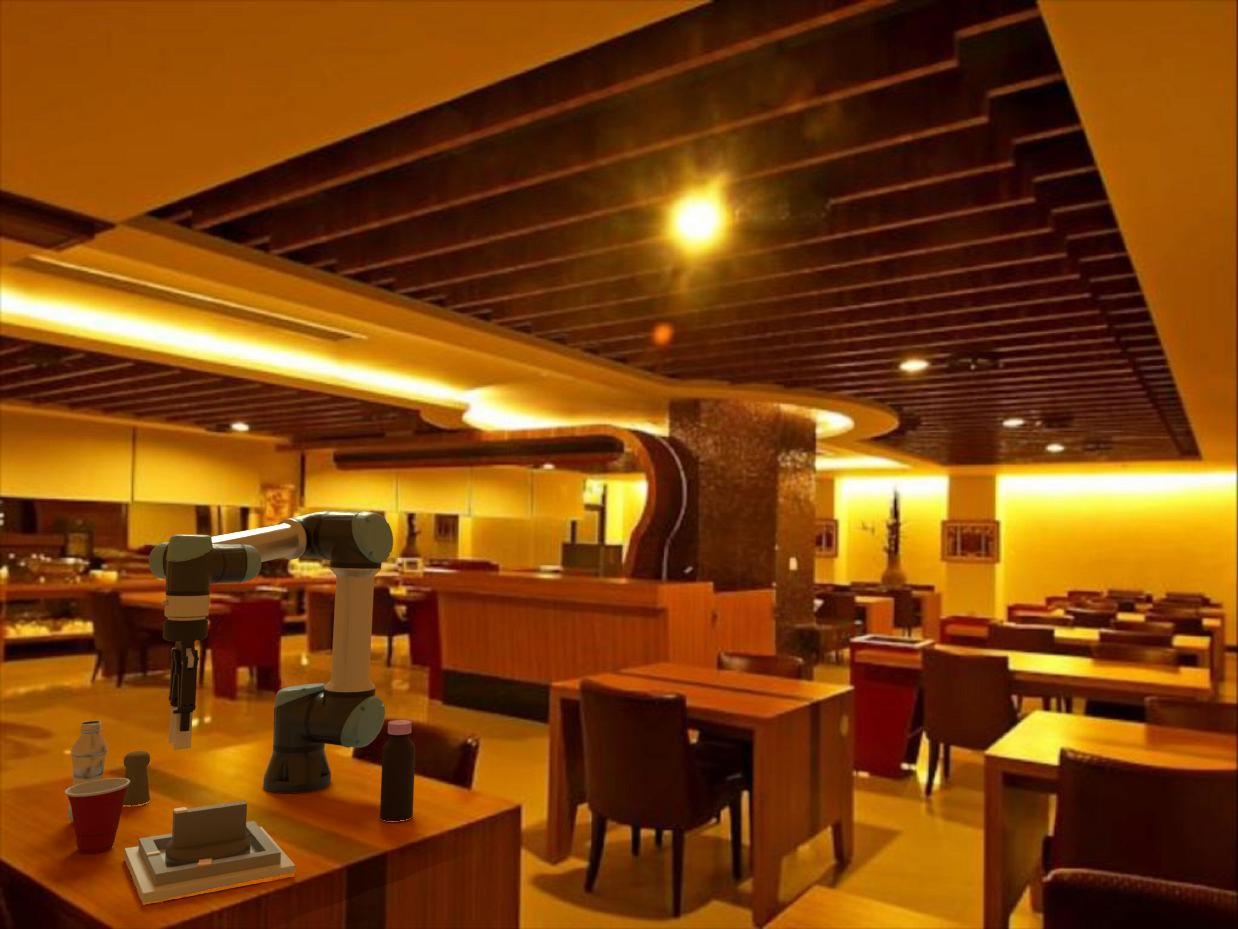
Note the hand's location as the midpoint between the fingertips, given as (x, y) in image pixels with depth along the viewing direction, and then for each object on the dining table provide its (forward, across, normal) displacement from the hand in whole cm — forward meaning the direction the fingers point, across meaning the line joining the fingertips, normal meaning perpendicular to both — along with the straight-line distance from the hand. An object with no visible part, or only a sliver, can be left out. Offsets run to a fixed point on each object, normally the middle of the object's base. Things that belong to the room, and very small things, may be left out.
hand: (179, 745), depth 171 cm
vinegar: (+21, -3, +44) cm, 48 cm away
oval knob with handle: (+19, +7, +4) cm, 21 cm away
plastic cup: (+21, -14, -12) cm, 28 cm away
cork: (+21, -41, -2) cm, 46 cm away
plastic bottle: (+21, -32, -12) cm, 40 cm away
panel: (+21, +7, +4) cm, 22 cm away
